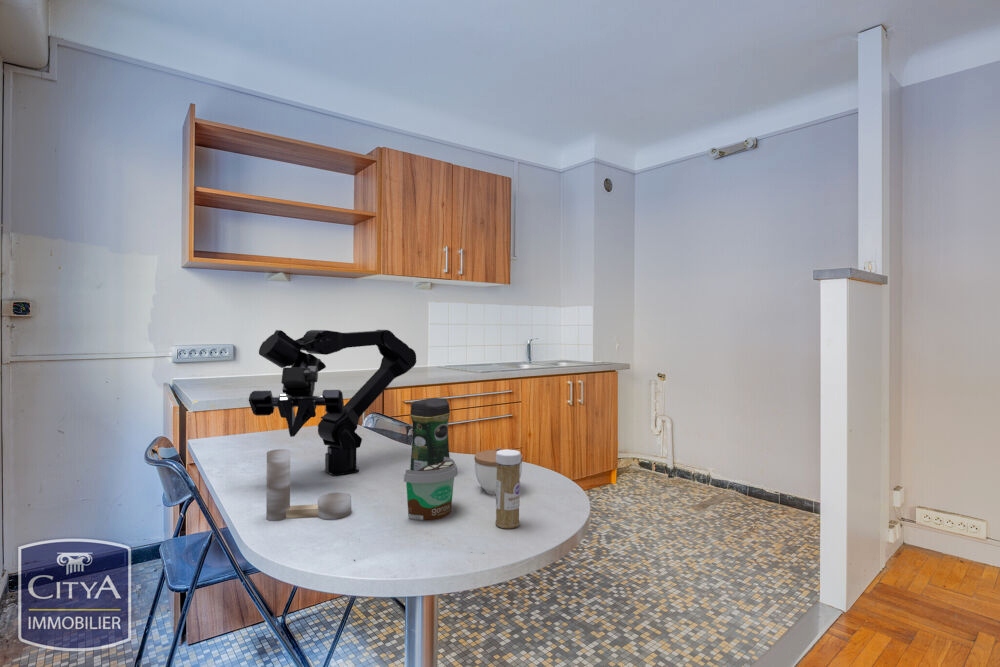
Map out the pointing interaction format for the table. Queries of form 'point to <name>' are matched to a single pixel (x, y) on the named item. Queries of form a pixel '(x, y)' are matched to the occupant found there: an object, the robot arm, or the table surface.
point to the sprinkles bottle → (508, 488)
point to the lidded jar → (488, 469)
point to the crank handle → (280, 494)
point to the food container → (430, 490)
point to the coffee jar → (429, 432)
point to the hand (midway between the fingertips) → (291, 435)
